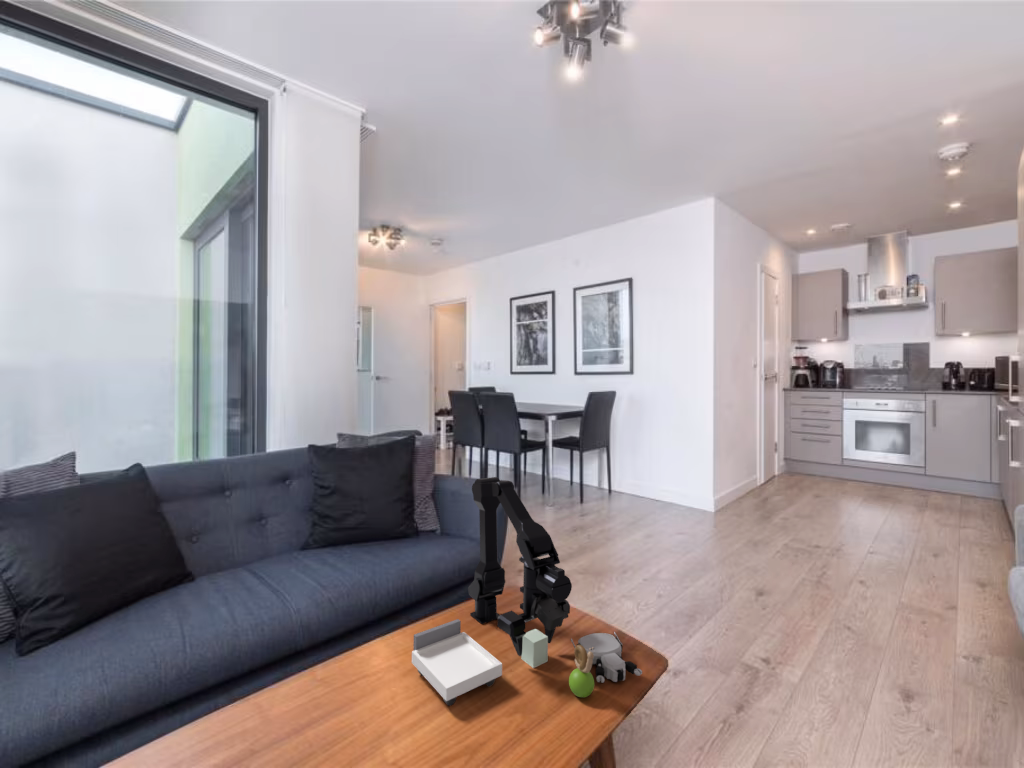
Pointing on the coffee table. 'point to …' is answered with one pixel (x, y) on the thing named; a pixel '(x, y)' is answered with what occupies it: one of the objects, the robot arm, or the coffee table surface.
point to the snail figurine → (582, 673)
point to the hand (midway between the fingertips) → (534, 648)
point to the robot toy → (608, 656)
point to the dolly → (453, 661)
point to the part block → (535, 648)
